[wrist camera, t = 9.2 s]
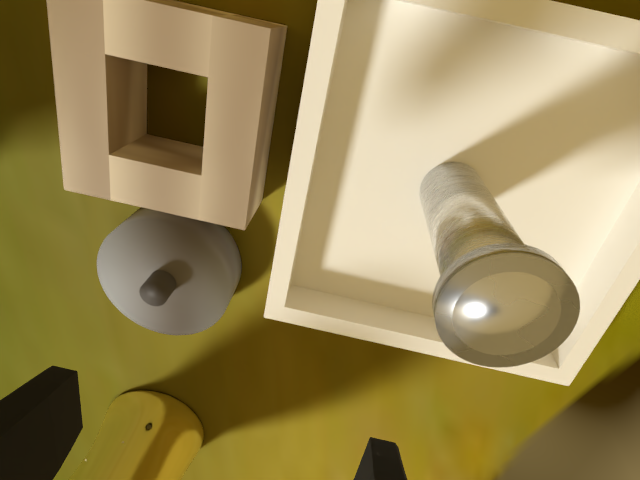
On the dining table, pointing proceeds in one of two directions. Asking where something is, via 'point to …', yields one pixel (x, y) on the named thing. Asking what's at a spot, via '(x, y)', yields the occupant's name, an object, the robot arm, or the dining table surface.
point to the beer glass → (143, 440)
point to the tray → (459, 146)
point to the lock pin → (491, 276)
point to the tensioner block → (166, 147)
